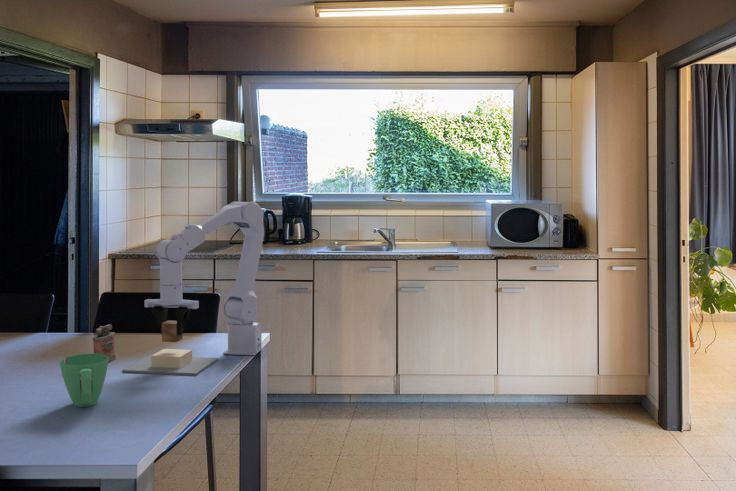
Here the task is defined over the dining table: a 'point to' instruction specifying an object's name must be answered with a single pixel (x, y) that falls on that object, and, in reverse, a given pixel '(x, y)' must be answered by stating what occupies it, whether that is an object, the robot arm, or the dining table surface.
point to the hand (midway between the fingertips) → (172, 334)
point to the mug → (84, 377)
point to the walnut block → (170, 332)
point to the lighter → (105, 342)
